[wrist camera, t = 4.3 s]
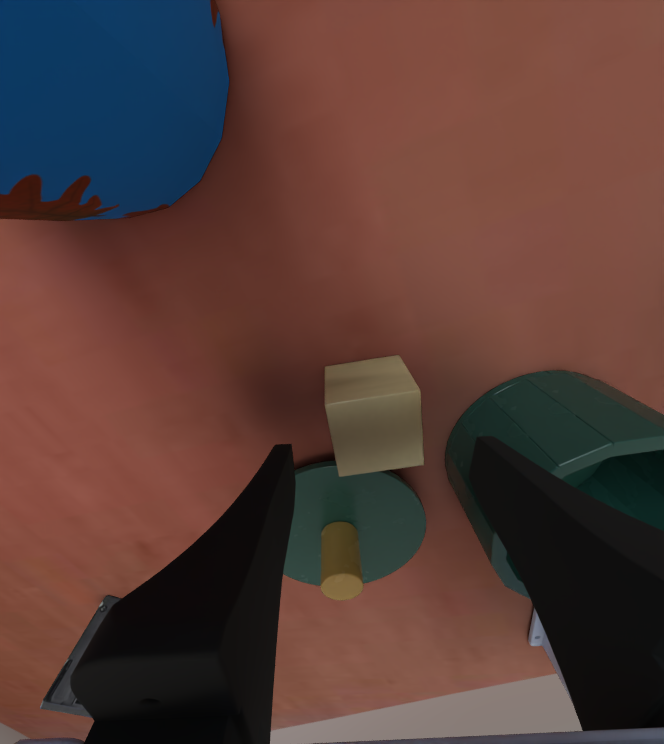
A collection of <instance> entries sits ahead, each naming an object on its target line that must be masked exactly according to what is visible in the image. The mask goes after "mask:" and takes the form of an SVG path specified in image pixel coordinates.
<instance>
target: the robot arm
mask: <svg viewBox="0 0 664 744" xmlns="http://www.w3.org/2000/svg"><path fill="white" fill-rule="evenodd" d="M469 480H470V482H471V485H472V487H473V490H474V492H475V495H476V497H477V499H478V502H479V503H480V505H481V507H482V509H483V511H484V512H485V514H486V516H487V518H488V519H489V521H490V523H491V525H492V526H493V528H494V530H495V532H496V533H497V535H498V537H499V539H500V540H501V542H502V544H503V545H504V547H505V549H506V551H507V552H508V554H509V556H510V558H511V559H512V561H513V563H514V565H515V567H516V569H517V571H518V573H519V575H520V577H521V579H522V581H523V584H524V586H525V588H526V590H527V592H528V594H529V597H530V599H531V601H532V603H533V605H534V612H533V617H532V622H531V627H530V632H529V638H528V641H529V643H530V645H532V646H543V648H544V650H545V651H546V653H547V655H548V657H549V659H550V661H551V663H552V665H553V667H554V669H555V671H556V672H557V674H558V676H559V678H560V680H561V682H562V684H563V686H564V688H565V690H566V691H567V693H568V695H569V697H570V699H571V701H572V703H573V705H574V708H575V710H576V713H577V716H578V719H579V721H580V724H581V727H582V730H583V731H575V732H553V733H532V734H509V735H488V736H468V737H445V738H424V739H401V740H382V741H381V740H380V741H358V742H337V743H317V744H664V531H663V530H660V529H658V528H656V527H654V526H651V525H649V524H647V523H645V522H642V521H640V520H638V519H636V518H633V517H631V516H629V515H627V514H625V513H623V512H621V511H619V510H617V509H615V508H613V507H611V506H609V505H607V504H605V503H603V502H601V501H599V500H597V499H595V498H593V497H591V496H589V495H588V494H586V493H584V492H582V491H580V490H579V489H577V488H575V487H573V486H572V485H570V484H568V483H567V482H565V481H563V480H561V479H560V478H558V477H556V476H555V475H553V474H551V473H550V472H548V471H547V470H545V469H543V468H542V467H540V466H539V465H537V464H536V463H534V462H532V461H531V460H529V459H528V458H526V457H525V456H523V455H522V454H520V453H519V452H517V451H516V450H514V449H513V448H511V447H509V446H508V445H506V444H505V443H503V442H502V441H500V440H498V439H497V438H495V437H493V436H479V437H476V442H475V447H474V452H473V457H472V462H471V467H470V472H469ZM295 490H296V480H295V471H294V462H293V452H292V444H278V445H275V446H274V447H273V449H272V450H271V452H270V453H269V455H268V457H267V458H266V460H265V461H264V463H263V464H262V466H261V467H260V469H259V470H258V472H257V473H256V474H255V476H254V477H253V479H252V480H251V481H250V483H249V484H248V485H247V487H246V488H245V489H244V490H243V492H242V493H241V494H240V495H239V497H238V498H237V499H236V500H235V501H234V503H233V504H232V505H231V506H230V507H229V508H228V509H227V511H226V512H225V513H224V514H223V515H222V516H221V517H220V518H219V519H218V520H217V521H216V522H215V523H214V524H213V525H212V526H211V527H210V528H209V529H208V530H207V531H206V532H205V533H204V534H203V535H202V536H201V537H200V538H199V539H198V540H197V541H196V542H195V543H193V544H192V545H191V546H190V547H189V548H188V549H187V550H186V551H184V552H183V553H182V554H181V555H180V556H178V557H177V558H176V559H175V560H173V561H172V562H171V563H170V564H169V565H167V566H166V567H165V568H164V569H162V570H161V571H160V572H158V573H157V574H156V575H154V576H153V577H152V578H150V579H149V580H148V581H146V582H145V583H143V584H142V585H141V586H139V587H138V588H136V589H135V590H134V591H132V592H131V593H129V594H128V595H126V596H125V597H124V598H122V599H121V600H119V601H118V602H116V603H115V604H113V605H112V607H111V609H110V610H109V612H108V613H107V615H106V616H105V618H104V619H103V621H102V622H101V624H100V625H99V627H98V629H97V630H96V632H95V634H94V636H93V637H92V639H91V641H90V643H89V644H88V646H87V648H86V650H85V651H84V653H83V655H82V657H81V658H80V660H79V662H78V664H77V665H76V667H75V669H74V671H73V673H72V674H71V676H70V687H71V690H72V692H73V694H74V696H75V697H76V698H77V700H78V701H79V702H80V703H81V705H82V706H83V707H84V708H85V709H86V711H87V712H88V713H89V714H90V716H91V717H92V718H93V719H94V723H93V725H92V728H91V730H90V732H89V734H88V736H87V738H86V740H85V742H84V741H82V740H79V739H75V738H45V739H25V740H19V741H18V742H16V743H15V744H270V732H271V716H272V700H273V685H274V671H275V657H276V644H277V632H278V620H279V608H280V597H281V586H282V577H283V570H284V564H285V559H286V553H287V547H288V542H289V536H290V531H291V525H292V519H293V514H294V505H295ZM315 744H316V743H315Z"/></svg>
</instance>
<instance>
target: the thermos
mask: <svg viewBox="0 0 664 744" xmlns="http://www.w3.org/2000/svg"><path fill="white" fill-rule="evenodd" d="M228 88H229V76H228V69H227V62H226V55H225V48H224V41H223V34H222V27H221V20H220V13H219V11H218V8H217V6H216V3H215V0H0V219H25V220H51V221H71V220H94V219H118V218H131V217H135V216H138V215H142V214H146V213H150V212H154V211H157V210H161V209H165V208H168V207H170V206H171V205H172V204H173V203H174V202H176V201H177V200H178V199H179V198H180V197H182V196H183V195H184V194H185V193H186V192H188V191H189V190H190V189H191V188H192V187H194V186H195V185H196V184H197V183H198V182H200V180H201V178H202V176H203V174H204V172H205V170H206V169H207V167H208V165H209V163H210V161H211V159H212V157H213V155H214V153H215V151H216V149H217V147H218V145H219V143H220V141H221V139H222V133H223V125H224V118H225V110H226V103H227V95H228Z"/></svg>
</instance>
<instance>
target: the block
mask: <svg viewBox="0 0 664 744" xmlns="http://www.w3.org/2000/svg"><path fill="white" fill-rule="evenodd" d="M325 410H326V415H327V420H328V425H329V430H330V435H331V440H332V445H333V450H334V455H335V460H336V464H337V469H338V474H339V477H342V476H349V475H356V474H363V473H370V472H378V471H385V470H392V469H399V468H406V467H413V466H420V465H424V451H423V431H422V410H421V391H420V389H419V387H418V385H417V384H416V382H415V381H414V379H413V377H412V376H411V374H410V372H409V371H408V369H407V367H406V366H405V364H404V362H403V361H402V359H401V357H400V356H399V355H395V356H388V357H382V358H376V359H370V360H363V361H357V362H351V363H344V364H338V365H332V366H326V367H325Z"/></svg>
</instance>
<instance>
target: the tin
mask: <svg viewBox="0 0 664 744" xmlns="http://www.w3.org/2000/svg"><path fill="white" fill-rule="evenodd" d="M479 436H493V437H495V438H497V439H498V440H500V441H502V442H503V443H505V444H506V445H508V446H509V447H511V448H513V449H514V450H516V451H517V452H519V453H520V454H522V455H523V456H525V457H526V458H528V459H529V460H531V461H532V462H534V463H536V464H537V465H539V466H540V467H542V468H543V469H545V470H547V471H548V472H550V473H551V474H553V475H555V476H556V477H558V478H560V479H561V480H563V481H565V482H567V483H568V484H570V485H572V486H573V487H575V488H577V489H579V490H580V491H582V492H584V493H586V494H588V495H589V496H591V497H593V498H595V499H597V500H599V501H601V502H603V503H605V504H607V505H609V506H611V507H613V508H615V509H617V510H619V511H621V512H623V513H625V514H627V515H629V516H631V517H633V518H636V519H638V520H640V521H642V522H645V523H647V524H649V525H651V526H654V527H656V528H658V529H660V530H663V531H664V415H663V414H661V413H659V412H657V411H656V410H654V409H652V408H650V407H648V406H646V405H645V404H643V403H641V402H639V401H637V400H635V399H633V398H632V397H630V396H628V395H626V394H624V393H622V392H621V391H619V390H617V389H615V388H613V387H611V386H609V385H608V384H606V383H604V382H602V381H600V380H596V379H593V378H591V377H588V376H586V375H583V374H580V373H576V372H570V371H553V370H552V371H542V372H536V373H531V374H526V375H523V376H520V377H517V378H514V379H512V380H509V381H507V382H505V383H503V384H501V385H499V386H497V387H495V388H494V389H492V390H490V391H489V392H487V393H486V394H484V395H483V396H482V397H480V398H479V399H478V400H477V401H476V402H475V403H473V404H472V405H471V406H470V407H469V408H468V409H467V410H466V412H465V413H464V414H463V415H462V416H461V418H460V419H459V420H458V422H457V423H456V425H455V427H454V428H453V430H452V432H451V434H450V437H449V439H448V442H447V447H446V452H445V465H446V471H447V474H448V479H449V481H450V483H451V485H452V487H453V489H454V491H455V493H456V495H457V497H458V499H459V501H460V503H461V505H462V507H463V509H464V511H465V513H466V515H467V517H468V519H469V521H470V523H471V525H472V527H473V529H474V531H475V533H476V535H477V537H478V539H479V541H480V543H481V545H482V547H483V549H484V551H485V553H486V555H487V557H488V559H489V561H490V563H491V565H492V566H493V568H494V570H495V571H496V573H497V574H498V576H499V578H500V579H501V581H502V582H503V584H504V586H506V587H507V588H509V589H511V590H513V591H515V592H517V593H519V594H521V595H523V596H525V597H527V598H529V599H530V597H529V594H528V592H527V590H526V588H525V586H524V584H523V581H522V579H521V577H520V575H519V573H518V571H517V569H516V567H515V565H514V563H513V561H512V559H511V558H510V556H509V554H508V552H507V551H506V549H505V547H504V545H503V544H502V542H501V540H500V539H499V537H498V535H497V533H496V532H495V530H494V528H493V526H492V525H491V523H490V521H489V519H488V518H487V516H486V514H485V512H484V511H483V509H482V507H481V505H480V503H479V502H478V499H477V497H476V495H475V492H474V490H473V487H472V485H471V482H470V480H469V472H470V467H471V462H472V457H473V452H474V447H475V442H476V437H479Z"/></svg>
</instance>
